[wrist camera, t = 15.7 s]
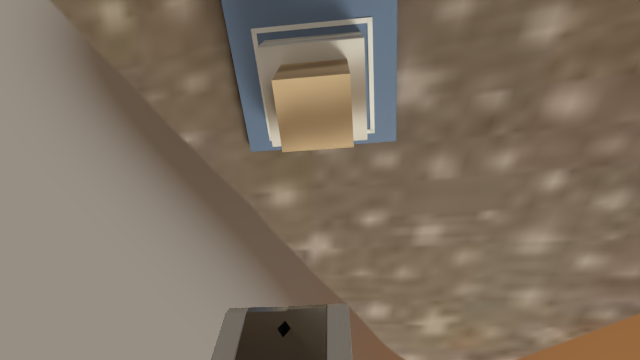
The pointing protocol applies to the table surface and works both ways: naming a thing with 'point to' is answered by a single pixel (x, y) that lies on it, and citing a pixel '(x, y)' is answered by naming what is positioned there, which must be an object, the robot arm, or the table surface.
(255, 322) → the robot arm
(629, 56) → the table surface
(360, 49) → the base block
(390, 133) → the board
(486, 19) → the table surface
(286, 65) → the oak cube
